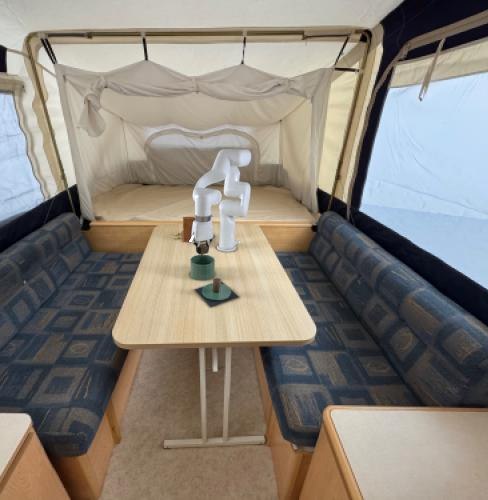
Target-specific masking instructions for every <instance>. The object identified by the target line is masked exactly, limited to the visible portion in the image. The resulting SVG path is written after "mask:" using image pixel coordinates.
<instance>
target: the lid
mask: <svg viewBox="0 0 488 500" xmlns="http://www.w3.org/2000/svg"><path fill="white" fill-rule="evenodd" d="M221 282H222V279H221V278H219V277H213V278H212V283H209V284H206V285H203V286H202V287H203V289H202V294H203V295H204V296H205V297H206V298H208V299H210V300H224V299H226V298H228V297H229V296H230V295H231V290H232V289H231V288H230V287H229V286H228V285H226V284H225V283H224V284H225V285H224V284H221ZM230 289H231V290H230Z"/></svg>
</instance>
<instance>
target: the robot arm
mask: <svg viewBox="0 0 488 500" xmlns="http://www.w3.org/2000/svg"><path fill="white" fill-rule="evenodd" d="M251 161H252V153H251V151H250V150H249V149H245V148H244V149H241V148H223V149H220V151H218V153H217V155H216V157H215V160H214V162H213V165H212V167H211V169H210V170H209V171H207V172H206V173H205V174H203V175H202V176H201V177H200V178H199V179H198V180H197V182H196V183H195V186H194V188H193V192H192V201H194V216H195V220H194V221H193V226H192V238H191V240H190V241H189V243H190V244H192V245H194V246H195V253H196V254H197V255H201V248H200V244H201V242H205V243H204V244H206V245H207V246H208V253H210V252H209V251H210V245H211V243H212V242H213V240H214V239H216V236H215V234H214V227H213V221H212V218H213V217H214V215H213V214H212V206H217V205H218V211H219V241H218V244H216V249H217V250H218V251H220V252H224V253H229V252H234V251H236V250H237V245H240V244H241V240H239V239H238V240H237V239H235V236H236V220H235V217H237V218H245V217H247V215H248V212H249V208H250V207H249V206H250V201H251V188H252V187H251V185H250V183H249V182H245V181H240V178H241V172H240V169H239V168H243V167H247V166H249V165H250V163H251ZM222 181H224V184H223V185H224V186H223V194H224V196H225V197H226V198H227V199H225V198H224V199H223V196H222V192H221V191H220V190H218V189H214V188H207V187H208V186H210V185H212V184H216V183H219V182H222ZM228 198H233V199H228ZM236 199H240V200H236ZM194 240H195V241H194Z"/></svg>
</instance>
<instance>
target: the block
mask: <svg viewBox="0 0 488 500" xmlns="http://www.w3.org/2000/svg"><path fill="white" fill-rule="evenodd" d="M200 248H201V254H200V255H208V254H209V252H208V246H207V245H206V244H205V243H200Z"/></svg>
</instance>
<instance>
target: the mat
mask: <svg viewBox="0 0 488 500" xmlns="http://www.w3.org/2000/svg"><path fill="white" fill-rule="evenodd" d="M221 284H224V285H226V284H225V283H224V282H223V281H221ZM203 287H204V286H201V287H198V288H195V289H194V291H195V292H196V293H197V294H198V295H199V296H200V297H201V299H203V301H205V303H206V304H207V305H208V306H209V307H210V308H212V307H215V306H218V305H220V304H223V303H226V302H229V301H232V300H235V299H239V298H240V296H239V295H237V294H236V293H235V292H234V291H233V290H232V289H231V288H230V290H231V295H230V296H229V297H228V298H226V299H224V300H210V299H208V298H206V297H205V296H204V295H203V294H202V289H203Z"/></svg>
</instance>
